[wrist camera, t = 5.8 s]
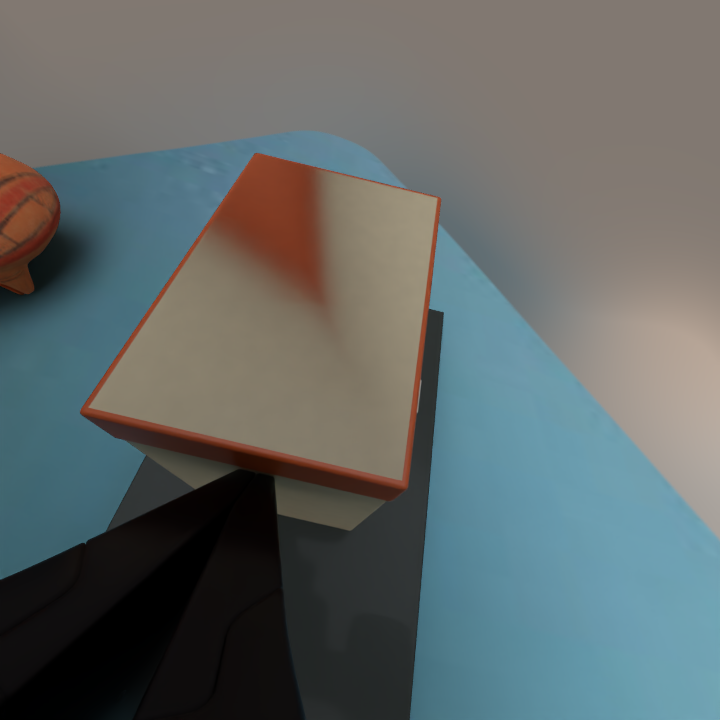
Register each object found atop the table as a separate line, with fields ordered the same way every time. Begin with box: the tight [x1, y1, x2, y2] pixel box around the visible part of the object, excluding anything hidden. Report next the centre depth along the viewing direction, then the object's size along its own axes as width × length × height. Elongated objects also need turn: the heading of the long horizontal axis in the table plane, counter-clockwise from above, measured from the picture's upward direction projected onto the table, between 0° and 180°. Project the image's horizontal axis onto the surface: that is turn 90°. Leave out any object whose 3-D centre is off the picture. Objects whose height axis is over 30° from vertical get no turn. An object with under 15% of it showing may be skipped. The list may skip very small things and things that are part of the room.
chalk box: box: [80, 153, 441, 531], centre depth 12 cm, size 9×6×9 cm
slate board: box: [106, 309, 444, 720], centre depth 15 cm, size 20×12×1 cm, turn 169°
